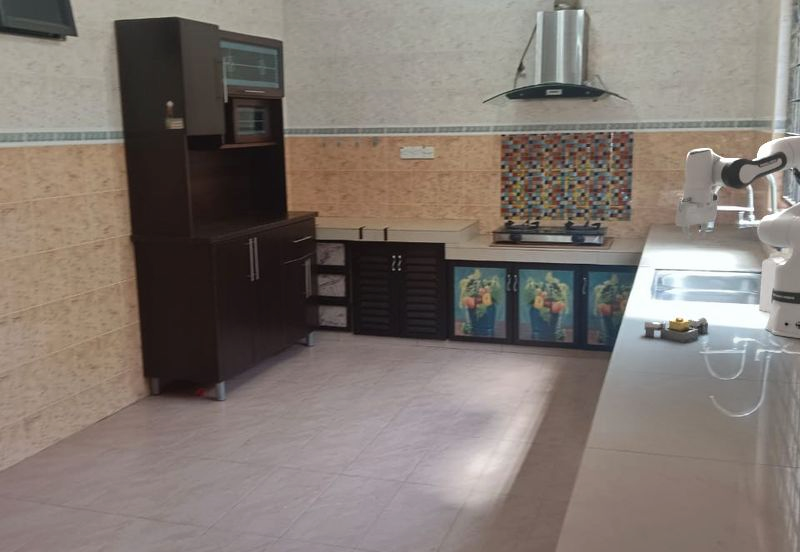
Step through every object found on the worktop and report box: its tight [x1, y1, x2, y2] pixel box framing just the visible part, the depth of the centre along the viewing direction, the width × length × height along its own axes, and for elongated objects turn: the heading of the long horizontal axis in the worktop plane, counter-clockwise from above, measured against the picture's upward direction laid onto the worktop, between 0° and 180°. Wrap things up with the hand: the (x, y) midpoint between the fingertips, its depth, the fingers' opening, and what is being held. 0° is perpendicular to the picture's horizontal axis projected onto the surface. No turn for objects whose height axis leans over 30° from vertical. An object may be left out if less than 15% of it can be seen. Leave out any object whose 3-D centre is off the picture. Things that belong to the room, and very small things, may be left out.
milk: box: [758, 251, 785, 313], centre depth 301 cm, size 6×6×22 cm
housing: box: [659, 326, 699, 344], centre depth 266 cm, size 8×8×3 cm
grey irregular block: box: [688, 317, 709, 334], centre depth 273 cm, size 8×4×5 cm, turn 129°
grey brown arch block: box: [644, 321, 667, 338], centre depth 269 cm, size 6×4×5 cm, turn 74°
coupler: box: [668, 317, 689, 333], centre depth 266 cm, size 4×4×6 cm
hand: (694, 237), depth 277 cm, fingers open, 8 cm apart
